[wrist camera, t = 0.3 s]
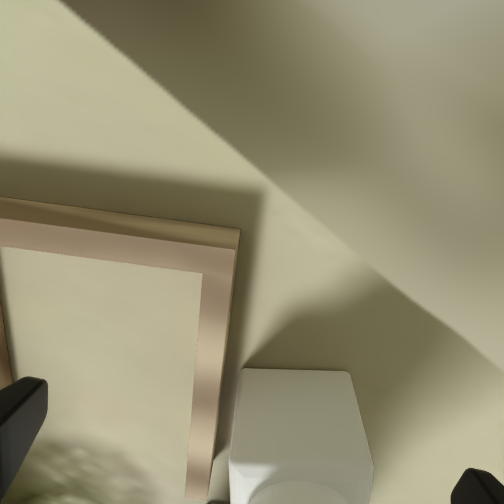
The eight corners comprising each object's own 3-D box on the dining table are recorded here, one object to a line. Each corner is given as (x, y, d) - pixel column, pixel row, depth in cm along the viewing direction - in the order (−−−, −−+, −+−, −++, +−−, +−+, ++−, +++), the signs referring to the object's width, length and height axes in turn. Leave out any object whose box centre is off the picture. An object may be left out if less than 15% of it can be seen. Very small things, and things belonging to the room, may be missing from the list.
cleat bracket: (213, 460, 29) (206, 500, 26) (1, 431, 29) (-28, 468, 26) (240, 229, 22) (235, 249, 19) (-44, 190, 22) (-90, 206, 19)
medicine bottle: (242, 444, 28) (220, 674, 17) (239, 365, 25) (212, 579, 14) (341, 448, 28) (384, 686, 17) (350, 368, 25) (409, 590, 14)
